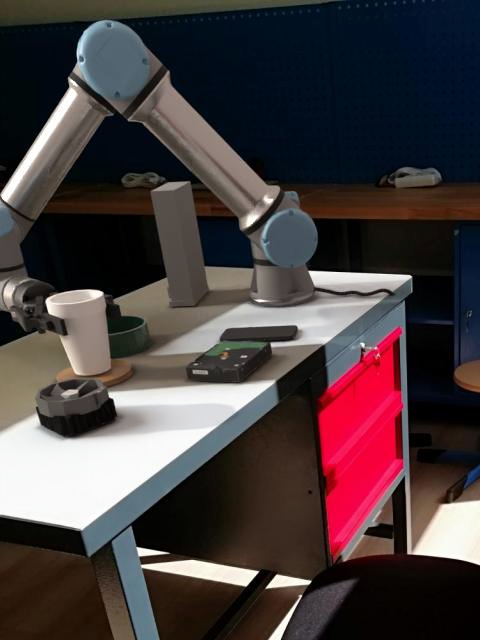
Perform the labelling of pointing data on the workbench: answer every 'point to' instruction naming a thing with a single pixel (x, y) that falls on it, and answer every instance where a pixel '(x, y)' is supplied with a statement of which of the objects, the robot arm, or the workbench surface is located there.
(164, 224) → the tall grey upright pillar
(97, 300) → the foam cup
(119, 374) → the pot holder
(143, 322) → the pot
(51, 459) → the workbench surface
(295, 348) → the workbench surface
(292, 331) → the phone
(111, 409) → the cpu cooler
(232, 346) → the disk drive
